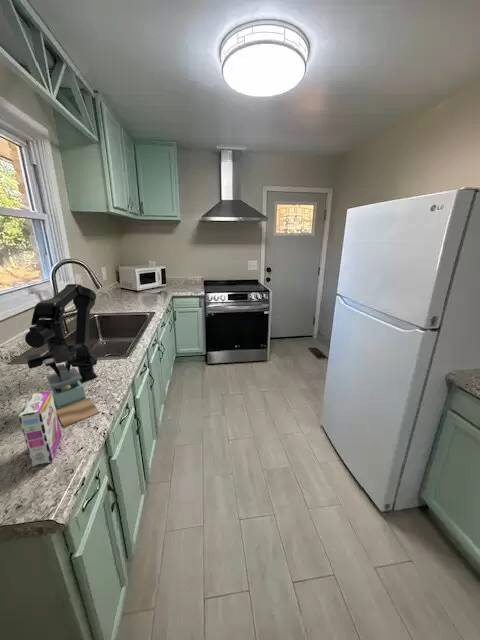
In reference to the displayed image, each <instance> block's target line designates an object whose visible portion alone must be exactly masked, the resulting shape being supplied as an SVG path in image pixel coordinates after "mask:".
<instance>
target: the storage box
mask: <svg viewBox="0 0 480 640" xmlns="http://www.w3.org/2000/svg"><path fill="white" fill-rule="evenodd" d="M48 385H49V389H50V390H49V391H52V394H53V399H54V403H55V406H56V407H57V409H60V408H62V407H65V406H68V405H70V404H73V403H76V402H79V401H81V400H84V399H87V398H86V394H85V389H84V385H83V384H82V382H81V381H80V380H78V382H76V383H73V384H70V385H67V386H64V387H61V388H58V389H57V388H53V389H52V387H51V385H50V383H48Z"/></svg>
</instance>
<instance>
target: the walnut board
mask: <svg viewBox="0 0 480 640" xmlns="http://www.w3.org/2000/svg"><path fill="white" fill-rule="evenodd" d="M56 413H57V417H58V420H59V422H60V423H61V425H62V427H63V428H66V427H70V426H72V425H74V424H77V423H78V422H81V421H84V420H86V419H89V418H90V417H93V416H96V415H99V414H100V413H101V412H100V411H99V408H97V406H96V405H95V404H94V402H93V401H92V399H91V398H90V397H87V398H86V399H83V400H80V401H77V402H75V403H72V404H69V405H67V406H64V407H61V408H57V409H56Z"/></svg>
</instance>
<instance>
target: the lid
mask: <svg viewBox="0 0 480 640" xmlns="http://www.w3.org/2000/svg"><path fill="white" fill-rule="evenodd" d="M56 366H57V368H58V371H59V373H60V377H58V375H57V374H56V372H54V373H52V374H48V375H45V377H46V380H47V381H48V384H50V385H51V387H52V389H53V388H57V389H58V388H61V387H64V386H67V385H70V384H73V383H76V382H78V380H79V381H80V380H81V379H82V377H81V375H80V374H79V371H78V369H76V367H72V368H70V371H69V372H68V369H67V368H66V367H65V363H63V364H59V365H56Z"/></svg>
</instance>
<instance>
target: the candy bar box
mask: <svg viewBox="0 0 480 640" xmlns="http://www.w3.org/2000/svg"><path fill="white" fill-rule="evenodd" d="M56 410H57V409H56V404H55V402H54V399H53V394H52V391H51V390H49V391H42V392H38V393H37V392H36V393H33V394H32V395H31V397H30V398H29V399H28V401H27V402H26V404H25V405H24V407H23V409H22V410H21V411H20V413H19V414H18V419H19V422H20V425H21V429H22V433H23V436H24V441H25V445H26V448H27V451H28V455H29V460H30V463H31V467H32V468H33V467H38V466H43V465H47V464H51V463H52V462H53V461H54V458H55V455H56V453H57V450H58V447H59V445H60V441H61V439H62V432H61V428H60V423H59V422H60V421H59V417H58V415H57V413H56Z"/></svg>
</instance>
